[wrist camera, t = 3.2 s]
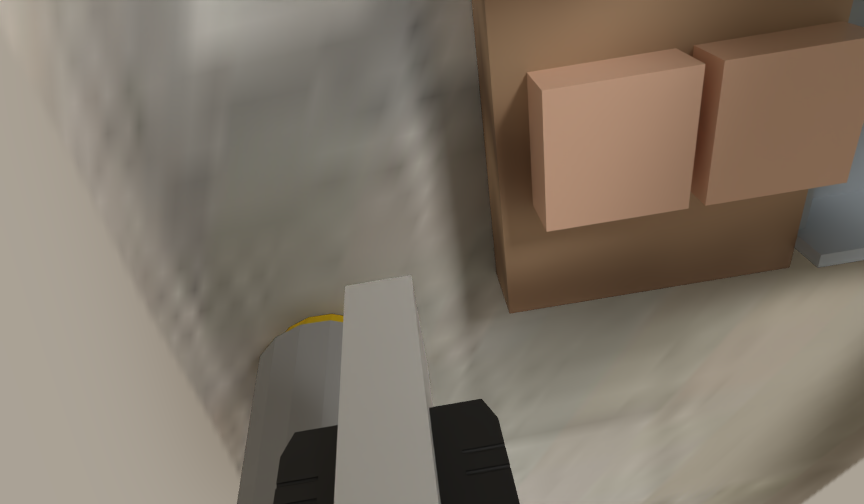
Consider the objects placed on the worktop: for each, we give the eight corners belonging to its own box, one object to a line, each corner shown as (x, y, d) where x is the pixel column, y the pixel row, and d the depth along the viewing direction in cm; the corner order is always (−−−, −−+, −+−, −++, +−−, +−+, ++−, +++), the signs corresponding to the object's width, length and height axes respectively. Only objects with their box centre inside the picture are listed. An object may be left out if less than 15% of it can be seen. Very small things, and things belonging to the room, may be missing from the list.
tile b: (693, 45, 19) (725, 60, 18) (842, 21, 19) (888, 34, 18) (679, 181, 22) (705, 205, 20) (810, 159, 22) (846, 182, 20)
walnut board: (462, -100, 19) (476, -97, 17) (823, -158, 19) (892, -164, 17) (496, 273, 27) (509, 313, 25) (750, 231, 27) (789, 267, 25)
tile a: (526, 72, 19) (542, 90, 18) (676, 48, 19) (705, 63, 18) (532, 205, 22) (546, 231, 20) (664, 183, 22) (688, 208, 20)
